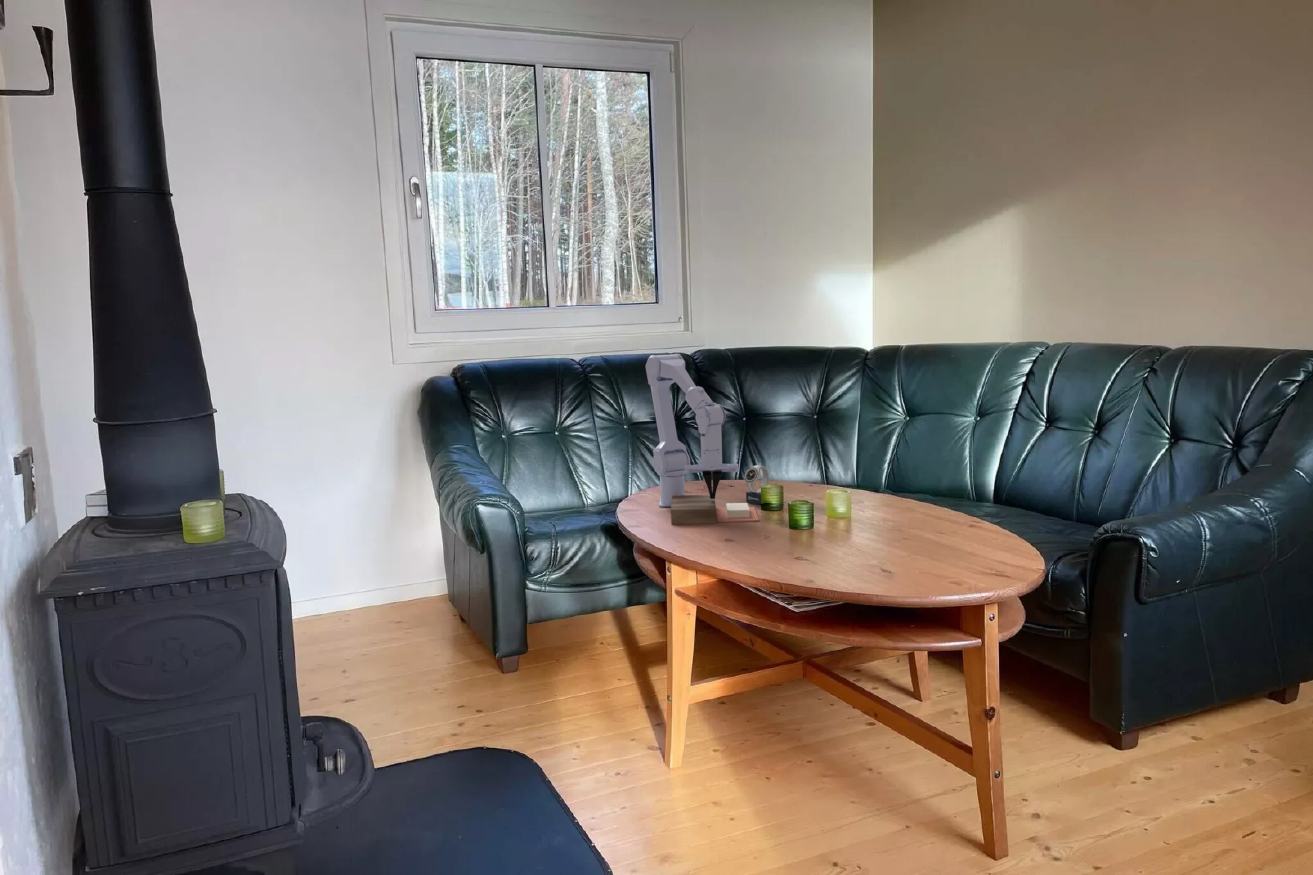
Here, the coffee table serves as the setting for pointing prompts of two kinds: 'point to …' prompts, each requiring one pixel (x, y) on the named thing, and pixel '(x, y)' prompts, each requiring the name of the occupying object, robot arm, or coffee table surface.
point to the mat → (722, 517)
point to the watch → (751, 479)
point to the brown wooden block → (693, 509)
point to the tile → (737, 510)
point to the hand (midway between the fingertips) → (712, 498)
